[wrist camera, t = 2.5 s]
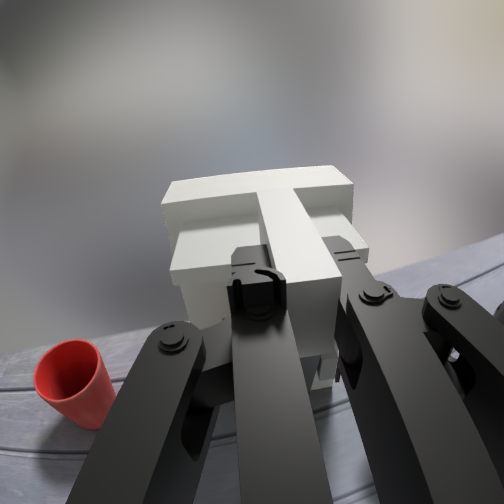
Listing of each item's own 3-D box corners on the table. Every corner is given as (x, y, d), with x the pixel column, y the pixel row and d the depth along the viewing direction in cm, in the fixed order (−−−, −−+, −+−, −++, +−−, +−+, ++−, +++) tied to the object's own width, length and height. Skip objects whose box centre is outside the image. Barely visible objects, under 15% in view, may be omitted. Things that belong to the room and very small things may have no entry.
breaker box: (322, 355, 45) (332, 165, 30) (345, 430, 33) (391, 219, 19) (215, 368, 44) (172, 181, 30) (215, 447, 33) (140, 247, 19)
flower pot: (57, 432, 33) (20, 393, 28) (79, 378, 42) (51, 336, 38) (117, 445, 33) (83, 407, 28) (135, 383, 42) (111, 339, 37)
